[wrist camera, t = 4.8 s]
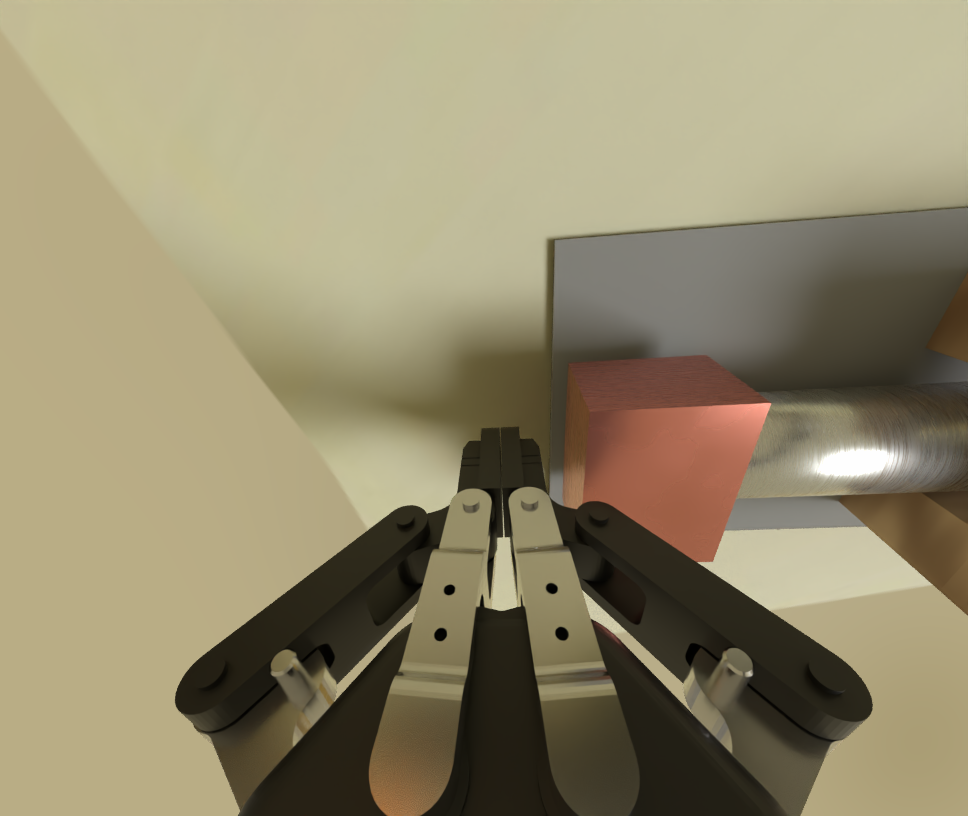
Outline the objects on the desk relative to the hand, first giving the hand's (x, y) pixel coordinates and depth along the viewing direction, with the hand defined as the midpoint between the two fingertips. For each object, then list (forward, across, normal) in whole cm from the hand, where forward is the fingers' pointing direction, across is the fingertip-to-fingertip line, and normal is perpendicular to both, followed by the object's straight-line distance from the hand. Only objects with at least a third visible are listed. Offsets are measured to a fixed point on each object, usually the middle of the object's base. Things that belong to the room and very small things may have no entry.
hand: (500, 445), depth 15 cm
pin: (+2, -10, 0) cm, 10 cm away
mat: (+2, -13, 0) cm, 13 cm away
